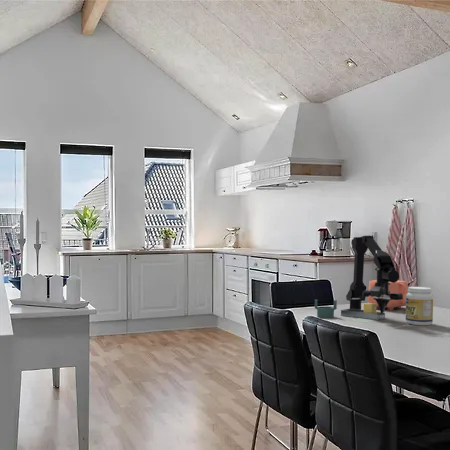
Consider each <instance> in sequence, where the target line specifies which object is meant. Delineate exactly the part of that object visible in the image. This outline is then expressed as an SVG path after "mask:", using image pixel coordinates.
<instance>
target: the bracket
mask: <svg viewBox="0 0 450 450" xmlns="http://www.w3.org/2000/svg"><path fill="white" fill-rule="evenodd" d="M337 301H338V300H336V299H334V300H333V306H323V305H322V306H318V299H314V309H315V310H316V311H317V312H316V318H321V319H332V318H335V310H337V309H338V308H337V305H338V303H337Z"/></svg>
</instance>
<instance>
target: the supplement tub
mask: <svg viewBox="0 0 450 450" xmlns="http://www.w3.org/2000/svg"><path fill="white" fill-rule="evenodd" d="M433 321H434V296H433V294H432V287H428V286H427V287H426V286H408V293H407V295H406V306H405V322H406V323H408V324H409V325H413V326H431V325H432V324H433Z"/></svg>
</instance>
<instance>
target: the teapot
mask: <svg viewBox="0 0 450 450" xmlns="http://www.w3.org/2000/svg"><path fill="white" fill-rule="evenodd" d="M368 282H369V283H368V290H370V289H372V288H373V287H375V283H376V282H377V279H373V280H369V281H368ZM389 283H390V285H389V291H390V293H389V294H391V293H402V295H403V299H401V300H390V301H389V302H388V304H387V306H386V310H387V311H394V310H395V309H396V308H402V309H403V307H406V295H407V293H409V291H408V287H409V285H408V284H409V283H408V280H399V279H398V281H397V282H394V283H393V282H389ZM373 298H374V296H373V297H372V296H369V297H367V303H374V304H377V306H376V309H379V306H378V303H377V301H376V300H375V299H373ZM382 298H383V297H382ZM394 308H395V309H394Z"/></svg>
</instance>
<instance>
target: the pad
mask: <svg viewBox="0 0 450 450" xmlns="http://www.w3.org/2000/svg"><path fill="white" fill-rule="evenodd" d="M350 321H352V322H359V323H368V322H374V321H375V320H372V319H364V318H357V317H355V318H352V319H350Z"/></svg>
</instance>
